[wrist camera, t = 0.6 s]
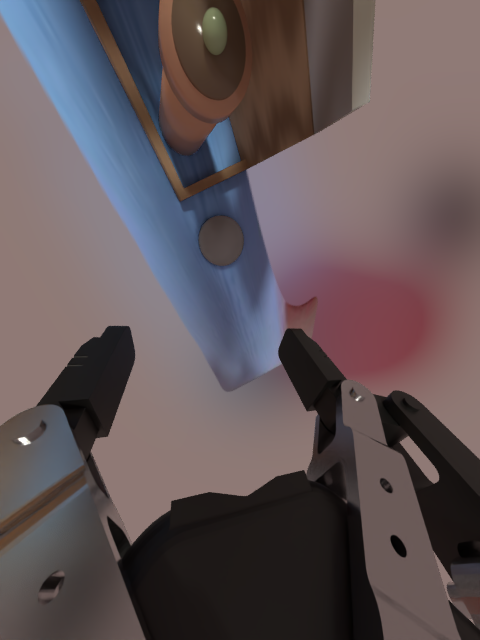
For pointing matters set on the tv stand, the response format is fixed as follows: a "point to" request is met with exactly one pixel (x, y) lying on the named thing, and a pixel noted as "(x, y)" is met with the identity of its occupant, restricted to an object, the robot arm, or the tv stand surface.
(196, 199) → the tv stand surface
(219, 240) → the grey-brown flat disc
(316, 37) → the cold frame
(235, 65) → the pot
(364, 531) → the robot arm
